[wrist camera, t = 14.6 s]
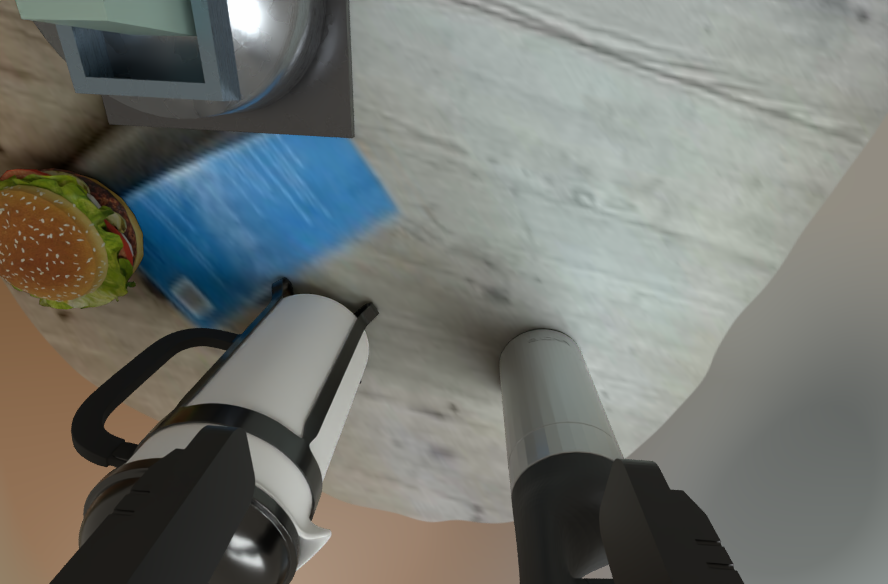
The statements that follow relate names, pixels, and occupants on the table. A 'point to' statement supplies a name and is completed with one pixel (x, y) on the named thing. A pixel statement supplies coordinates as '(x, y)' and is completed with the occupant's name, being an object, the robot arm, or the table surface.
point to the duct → (224, 69)
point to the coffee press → (247, 423)
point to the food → (66, 238)
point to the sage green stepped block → (115, 15)
